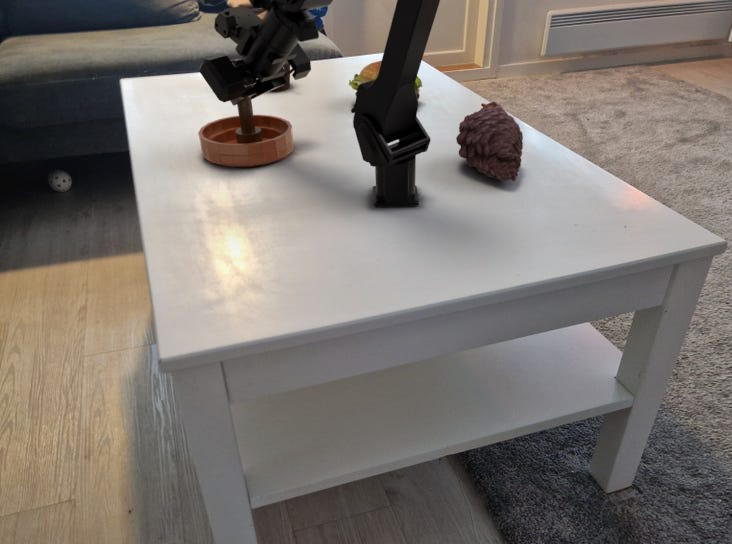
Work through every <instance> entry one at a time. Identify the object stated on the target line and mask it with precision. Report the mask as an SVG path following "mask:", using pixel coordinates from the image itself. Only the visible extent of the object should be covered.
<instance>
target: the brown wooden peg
mask: <svg viewBox="0 0 732 544" xmlns="http://www.w3.org/2000/svg"><path fill="white" fill-rule="evenodd" d="M241 59H242V58H234V59H230V60H231V61H233V60H235V61H238V60H241ZM236 106H237V107H236V108H237V111H238V113H237V114H238V116H239V120H240V127H241V128H239V129H237V130H236V131H235V134H236V140H237V144H248V143H255V142H262V141H263V137H262V130H261V128H259V127H255V123H254V116H253V115H254V110H253V103H252V100H251V97H249V98H248V99H246V100H244V101H242V102H241V103H239V104H237V105H236Z"/></svg>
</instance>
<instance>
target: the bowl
mask: <svg viewBox="0 0 732 544" xmlns="http://www.w3.org/2000/svg"><path fill="white" fill-rule="evenodd" d="M253 116H254V123H255V127H259V128H261V130H262V137H263V141H262V142H255V143H248V144H237V140H236V134H235V131H236V130H237V129H239V128H241V127H240V120H239V115H231V116H227V117H222V118H219V119H216V120H213V121H211V122H208V123H206V124H205V125H203V126H202V127H200V129H199V131H198V133H197V134H198V139H199V144H200V149H201V154H202V157H203V158H204V159H205V160H207V161H208V162H210V163H213V164H217V165H220V166H224V167H230V168H251V167H260V166H264V165H267V164H268V165H269V164H273V163H276V162H277V161H279V160H281V159H283V158H285V157H287V156H288V155H290V154H291V153H292V152H293V151H294V147H295V142H294V133H293V125H292V124H291V122H290V121H289V120H286V119H285V118H283V117H279V116H274V115H269V114H253Z"/></svg>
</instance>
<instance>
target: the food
mask: <svg viewBox="0 0 732 544" xmlns="http://www.w3.org/2000/svg"><path fill="white" fill-rule="evenodd" d="M381 61H382V60H379V61H373V62H371V63H369V64H367V65H366V66H364V67H363V68H362V70H361V71H360V73H359V74H358V73H355V74H354V76H353V79H352V80H351V79H349V80H348V81H349V82H348V86H349V87H351V88H352V90H354V91H356V92H355V94H354V95H355V96H356V94H357V89H358V87H359V85H360V84H362V83H365V82H368V81H371V80H375V79H376V77H377V75H378V73H379V69H380V65H381ZM414 87H415V91H416V95H417V99H418V100H419V99H420V88H422V87H423V82H422V80H421V78H420V77H419V76H418V75H417V77H416V80H415V85H414Z"/></svg>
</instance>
